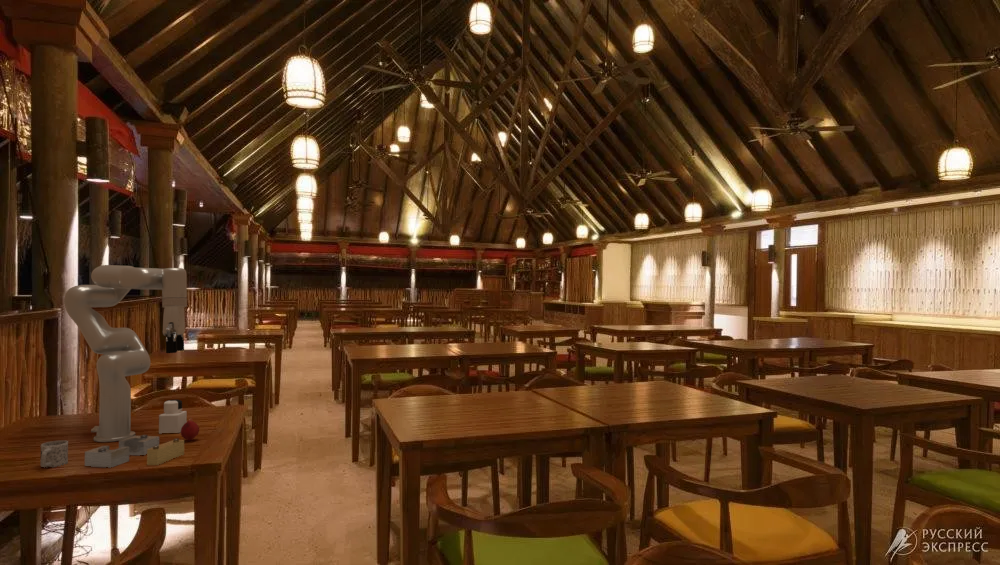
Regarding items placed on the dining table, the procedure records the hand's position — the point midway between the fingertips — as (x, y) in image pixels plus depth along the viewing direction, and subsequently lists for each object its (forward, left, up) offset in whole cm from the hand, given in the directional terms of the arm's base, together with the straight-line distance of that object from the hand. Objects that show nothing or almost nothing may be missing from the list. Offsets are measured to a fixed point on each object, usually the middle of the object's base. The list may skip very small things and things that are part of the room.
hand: (175, 351), depth 199 cm
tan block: (+10, -16, -33) cm, 38 cm away
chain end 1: (-5, -23, -33) cm, 40 cm away
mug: (-20, -27, -33) cm, 47 cm away
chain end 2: (-5, -10, -33) cm, 34 cm away
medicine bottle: (-14, +18, -33) cm, 40 cm away
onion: (+2, +6, -33) cm, 33 cm away
